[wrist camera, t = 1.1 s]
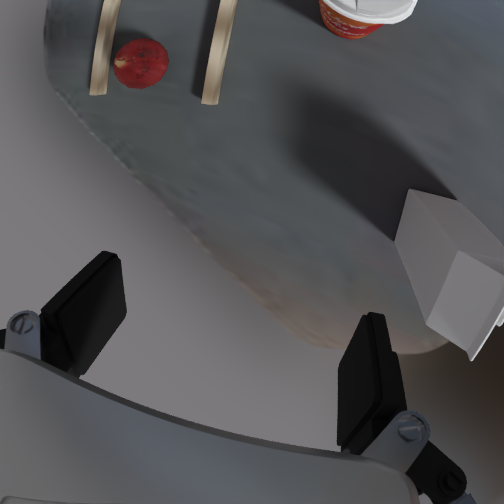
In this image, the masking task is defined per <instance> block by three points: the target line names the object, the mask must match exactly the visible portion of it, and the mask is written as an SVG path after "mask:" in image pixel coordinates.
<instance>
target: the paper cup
mask: <svg viewBox="0 0 504 504" xmlns="http://www.w3.org/2000/svg"><path fill="white" fill-rule="evenodd" d="M318 1H319V6H320V11H321V16H322V19H323V21H324V23H325V25H326V27H327V28H328V29H329V30H330V31H331V32H333V33H334V34H336V35H337V36H339V37H342V38H346V39H358V38H361V37H364V36H366V35H368V34H369V33H371V32H373V31H374V30H376V29H377V28H379V27H381V26H382V25H384V24H394V23H397V22H400V21H402V20H404V19H406V18H407V17H408V16H409V15H411V14H412V12H413V9H414V7H415V5H416V3H417V1H418V0H318Z"/></svg>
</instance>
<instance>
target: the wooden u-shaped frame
mask: <svg viewBox="0 0 504 504" xmlns="http://www.w3.org/2000/svg"><path fill="white" fill-rule="evenodd" d="M237 2H238V0H221V2H220V6H219V11H218V15H217V20H216V25H215V30H214V35H213V40H212V45H211V50H210V55H209V61H208V66H207V72H206V78H205V84H204V90H203V96H202V102H201V103H202V104H209V105H215V104H218V99H219V93H220V87H221V81H222V76H223V70H224V65H225V60H226V55H227V49H228V44H229V39H230V34H231V30H232V25H233V20H234V15H235V11H236V6H237ZM120 3H121V0H104V4H103V8H102V13H101V18H100V23H99V28H98V34H97V40H96V46H95V53H94V60H93V68H92V76H91V86H90V95H102V94H106V90H107V80H108V72H109V64H110V57H111V51H112V44H113V38H114V33H115V27H116V22H117V17H118V12H119V7H120Z"/></svg>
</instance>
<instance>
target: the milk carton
mask: <svg viewBox="0 0 504 504" xmlns="http://www.w3.org/2000/svg"><path fill="white" fill-rule="evenodd" d="M394 244H395V246H396V248H397V251H398V253H399V255H400V258H401V260H402V262H403V265H404V267H405V270H406V272H407V275H408V277H409V280H410V282H411V285H412V287H413V290H414V292H415V295H416V298H417V300H418V303H419V306H420V309H421V311H422V314H423V317H424V320H425V323H426V325H427V326H429V327H430V328H432V329H433V330H435V331H436V332H438V333H439V334H441V335H442V336H444V337H445V338H447V339H448V340H450V341H451V342H453V343H455V344H456V345H458V346H459V347H461V348H462V349H464V350H465V351H466V352H467V353H468V356H469V358H470V361H473V359H474V358H475V356H476V355H477V353H478V352H479V350H480V349H481V347H482V346H483V344H484V343H485V341H486V340H487V338H488V336H489V335H490V333H491V331H492V330H493V328H494V326H495V325H496V324H497V325H498V326H501V325H502V324H503V322H504V246H503V245H502V243H501V242H500V241H499V240H498V239H497V238H496V237H495V236H494V235H493V234H492V233H491V232H490V231H489V230H488V229H487V228H486V227H485V226H484V225H483V224H482V223H481V222H480V221H479V220H478V219H477V218H476V217H475V216H474V215H473V214H472V213H471V212H470V211H469V210H468V209H467V208H466V207H465V206H464V205H463V204H461V203H460V202H459V201H457V200H453V199H449V198H445V197H442V196H438V195H434V194H430V193H426V192H422V191H418V190H414V189H409V190H408V193H407V197H406V201H405V205H404V208H403V212H402V216H401V219H400V223H399V226H398V230H397V233H396V237H395V240H394Z"/></svg>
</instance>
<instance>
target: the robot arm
mask: <svg viewBox="0 0 504 504" xmlns="http://www.w3.org/2000/svg"><path fill="white" fill-rule="evenodd" d="M41 312H42V313H41V314H40V315H39V316H38V314H37V313H35V312H33V311H29V310H26V311H21V312H18V313H16V314H14V315H13V316H12V317H11V318H10V319H9V321H8V323H7V328H6V329H2V330H0V504H477V503H476V501H475V500H474V498H473V496H472V495H471V493H469V494H468V495H467V493H466V492H465V489H466V485H467V480H466V476H465V474H464V472H463V471H462V470H461V468H460V467H458V466H457V465H456V464H455V463H454V462H453V461H451V459H449V458H448V457H447V456H446V455H444V453H443V452H441V451H440V450H439V449H438V448H437V447H436V446H435V445H433V444H432V443H431V442H430V441H429V437H430V426H429V424H428V422H427V421H426V419H425V418H424V417H423V416H422V415H421V414H419V413H417V412H414V411H407V405H406V399H405V393H404V387H403V381H402V375H401V370H400V365H399V360H398V356H397V353H396V352H393V351H392V348H391V343H390V338H389V333H388V328H387V324H386V319H385V316H384V315H383V314H379V313H374V312H369V313H368V314H367V315H363V316H362V317H361V319H360V322H359V324H358V326H357V328H356V330H355V332H354V335H353V337H352V339H351V341H350V343H349V345H348V347H347V349H346V351H345V353H344V355H343V357H342V359H341V361H340V363H339V367H338V419H337V445H338V446H341V452H335V451H329V450H321V449H314V448H308V447H302V446H296V445H290V444H285V443H279V442H273V441H268V440H263V439H258V438H254V437H249V436H244V435H240V434H236V433H232V432H228V431H224V430H220V429H216V428H213V427H209V426H205V425H202V424H198V423H195V422H191V421H188V420H185V419H182V418H178V417H175V416H172V415H169V414H166V413H163V412H160V411H157V410H155V409H151V408H149V407H146V406H143V405H140V404H138V403H135V402H133V401H130V400H127V399H125V398H122V397H120V396H117V395H115V394H113V393H110V392H108V391H106V390H103V389H101V388H99V387H96V386H94V385H92V384H90V383H88V382H85V381H83V380H81V379H79V377H80V375H84V374H85V373H86V372H87V370H88V369H89V367H90V366H91V364H92V363H93V362H94V360H95V359H96V357H97V356H98V355H99V353H100V352H101V350H102V349H103V347H104V346H105V345H106V343H107V342H108V340H109V339H110V338H111V336H112V335H113V333H114V332H115V331H116V329H117V328H118V327H119V325H120V324H121V323H122V321H123V320H124V318H125V316H126V313H127V309H126V302H125V294H124V286H123V277H122V267H121V260H120V259H119V258H118V256H117V254H115V253H111V252H108V251H102V252H101V253H100V254H98V255H97V256H96V257H95V258H94V259H93V260H92V261H91V262H89V264H87V265H86V266H85V267H84V268H83V269H82V270H81V271H80V272H79V273H78V274H77V275H75V276H74V277H73V278H72V279H71V280H70V281H69V282H68V283H67V284H66V285H65V286H64V287H63V288H62V289H61V290H60V291H59V292H58V293H57V294H56V295H55V296H54V297H53V298H52V299H51V300H50V301H49V302H48V303H47V304H46V305H45V306H44V307H43V308H42V309H41Z"/></svg>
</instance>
